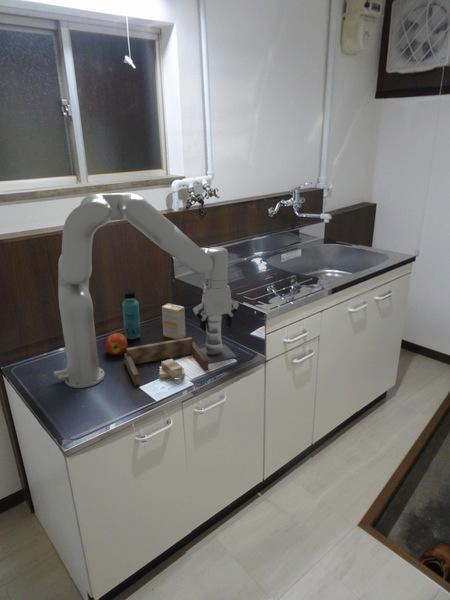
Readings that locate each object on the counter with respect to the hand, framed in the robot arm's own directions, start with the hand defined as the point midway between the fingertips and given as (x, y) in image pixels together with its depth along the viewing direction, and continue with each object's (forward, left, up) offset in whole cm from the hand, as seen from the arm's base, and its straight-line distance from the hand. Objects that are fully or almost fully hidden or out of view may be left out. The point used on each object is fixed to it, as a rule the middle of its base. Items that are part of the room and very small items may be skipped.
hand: (215, 327), depth 153 cm
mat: (0, 0, -11) cm, 11 cm away
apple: (-34, +15, -11) cm, 38 cm away
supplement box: (-10, +21, -11) cm, 26 cm away
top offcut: (-20, -9, -9) cm, 23 cm away
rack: (-20, -2, -11) cm, 23 cm away
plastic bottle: (-1, 0, -10) cm, 10 cm away
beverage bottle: (-26, +25, -11) cm, 37 cm away
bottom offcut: (-20, -9, -11) cm, 24 cm away
